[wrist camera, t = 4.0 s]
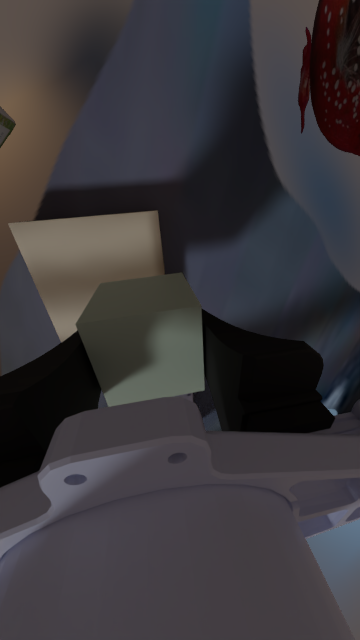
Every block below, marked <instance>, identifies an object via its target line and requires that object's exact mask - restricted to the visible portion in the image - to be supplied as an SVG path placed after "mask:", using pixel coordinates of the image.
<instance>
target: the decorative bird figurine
mask: <svg viewBox="0 0 360 640" xmlns="http://www.w3.org/2000/svg"><path fill="white" fill-rule="evenodd" d="M306 36H307V45H306V46H305V47H304V49H303V66H302V68H301V80H300V86H299V95H298V102H299V106H300V110H301V133H302V132H303V129H304V112H305V108H306V105H307V103H308V100H309V92H310V93H311V101H312V106H313V110H314V114H315V117H316V121H317V124H318V126H319V128H320V130H321V132H322V133H323V135H324V136H325V137H326V139H327V140H328V141H329V143H331V144H332V145H333V146H335V147H336V148H337V149H339V150H342V151H345V152H349V153H353V154H355V155H358V156H360V0H319V3H318V7H317V11H316V16H315V21H314V27H313V34H312V43H311V35H310V32H309V30H308V28H307V27H306Z"/></svg>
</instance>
